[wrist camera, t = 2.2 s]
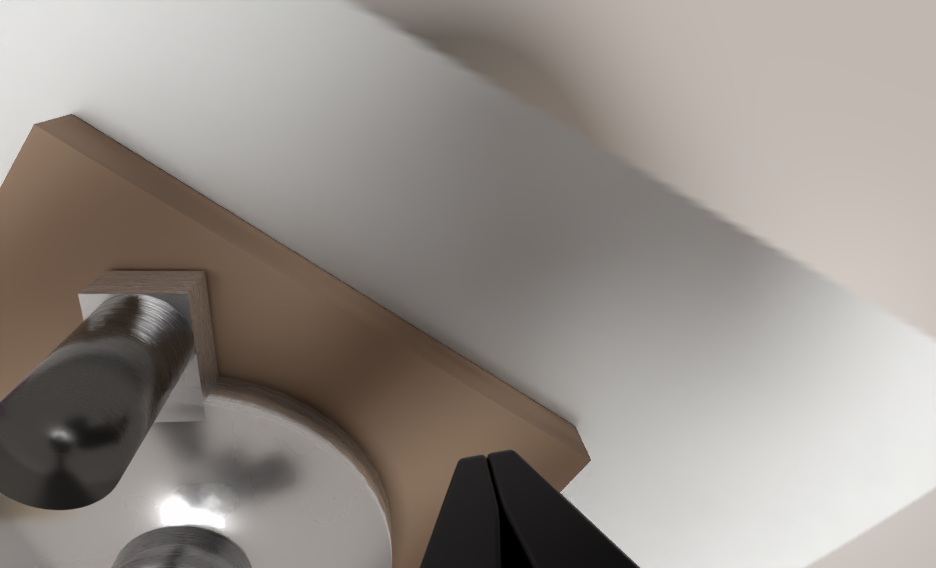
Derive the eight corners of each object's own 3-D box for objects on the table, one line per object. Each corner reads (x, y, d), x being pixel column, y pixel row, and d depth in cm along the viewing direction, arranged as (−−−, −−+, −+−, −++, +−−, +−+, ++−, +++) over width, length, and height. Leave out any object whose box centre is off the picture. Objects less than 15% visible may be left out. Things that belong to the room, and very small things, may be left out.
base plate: (575, 427, 18) (632, 546, 14) (301, 718, 21) (281, 881, 17) (71, 114, 13) (-76, 154, 9) (-175, 562, 16) (-361, 739, 12)
